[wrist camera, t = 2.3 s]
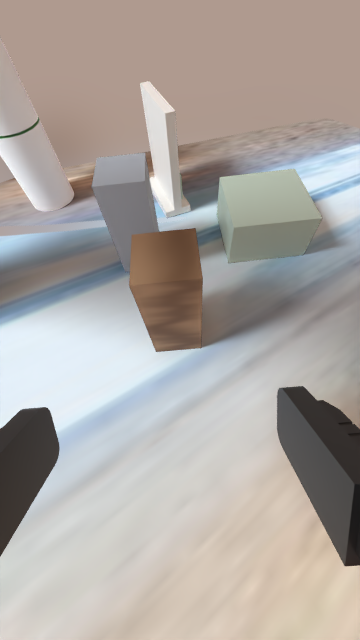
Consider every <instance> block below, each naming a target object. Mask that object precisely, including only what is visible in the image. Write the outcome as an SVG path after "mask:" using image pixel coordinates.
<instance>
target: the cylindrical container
mask: <svg viewBox="0 0 360 640" xmlns="http://www.w3.org/2000/svg"><path fill="white" fill-rule="evenodd" d="M0 155H1V157H2V158H3V160H4V161H5V163H6V164H7V166H8V168H9V169H10V170H11V172H12V174H13V175H14V177H15V178H16V180H17V181H18V183H19V184H20V186H21V187H22V189H23V190H24V192H25V193H26V195H27V196H28V198H29V199H30V201H31V202H32V204H33V206H34V207H35V208H36V209H37V210H40V211H46V212H47V211H55V210H58V209H60V208H63V207H64V206H66V205H67V204H69V203H70V202H71V201H72V199H73V197H74V192H73V189H72V187H71V185H70V183H69V181H68V179H67V177H66V175H65V172H64V170H63V168H62V166H61V164H60V162H59V160H58V158H57V156H56V153H55V151H54V149H53V147H52V145H51V143H50V141H49V139H48V137H47V134H46V132H45V130H44V128H43V126H42V124H41V122H40V120H39V117H38V115H37V113H36V111H35V109H34V107H33V105H32V103H31V101H30V98H29V96H28V94H27V92H26V90H25V88H24V86H23V84H22V81H21V80H20V77H19V75H18V73H17V71H16V69H15V67H14V64H13V62H12V60H11V58H10V56H9V54H8V52H7V50H6V48H5V45H4V43H3V41H2V39H1V37H0Z"/></svg>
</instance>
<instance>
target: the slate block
mask: <svg viewBox="0 0 360 640" xmlns="http://www.w3.org/2000/svg"><path fill="white" fill-rule="evenodd" d="M92 189H93V192H94V194H95V197H96V199H97V202H98V204H99V207H100V210H101V212H102V215H103V217H104V220H105V222H106V225H107V227H108V230H109V232H110V235H111V237H112V240H113V242H114V245H115V247H116V250H117V252H118V255H119V257H120V260H121V262H122V265H123V267H124V270H125V272H130V259H131V238H132V235H134V234H143V233H153V232H159V229H158V223H157V217H156V212H155V206H154V200H153V195H152V189H151V183H150V178H149V172H148V166H147V161H146V155H145V153H137V154H129V155H119V156H110V157H102V158H97V161H96V166H95V171H94V176H93V181H92Z"/></svg>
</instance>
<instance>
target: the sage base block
mask: <svg viewBox="0 0 360 640" xmlns="http://www.w3.org/2000/svg"><path fill="white" fill-rule="evenodd" d="M217 218H218V222H219V226H220V230H221V234H222V239H223V243H224V247H225V251H226V255H227V259H228V263H235V262H244V261H254V260H263V259H272V258H282V257H291V256H300V255H304V253H305V251H306V249H307V247H308V245H309V243H310V241H311V239H312V237H313V235H314V233H315V231H316V230H317V228H318V226H319V224H320V222H321V220H322V216H321V215H320V213H319V211H318V209H317V207H316V206H315V204H314V202H313V200H312V199H311V197H310V195H309V193H308V192H307V190H306V188H305V186H304V184H303V183H302V181H301V179H300V177H299V176H298V174H297V172H296V170H295V169H288V170H279V171H270V172H261V173H252V174H243V175H235V176H226V177H220V180H219V193H218V206H217Z"/></svg>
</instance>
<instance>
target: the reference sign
mask: <svg viewBox="0 0 360 640" xmlns="http://www.w3.org/2000/svg"><path fill="white" fill-rule="evenodd" d="M140 86H141V93H142V99H143V105H144V112H145V118H146V125H147V131H148V136H149V143H150V150H151V156H152V163H153V169H154V175H155V176H154V177H150V183H151V189H152V192H153V194H154V196H155V198H156V200H157V202H158V203H159V205H160V207H161V209H162V211H163V213H164V214H165V216H166V218H169V217H173V216H176V215H179V214H182V213H186V212H189V211H190V204H189V203H188V201H187V199H186V198H185V196H184V195H183V193H182V177H181V174H180V172H179V159H178V144H177V129H176V114H175V110H174V109H173V108H172V107H171V106H170V104H169V103H168V102H167V101H166V100H165V99H164V98H163V97H162V95H161V94H160V93H159V92H158V91H157V90H156V89H155V88H154V86H153V85H152V84H151V83H150V82H149V81H148V82H143V83H140Z"/></svg>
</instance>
